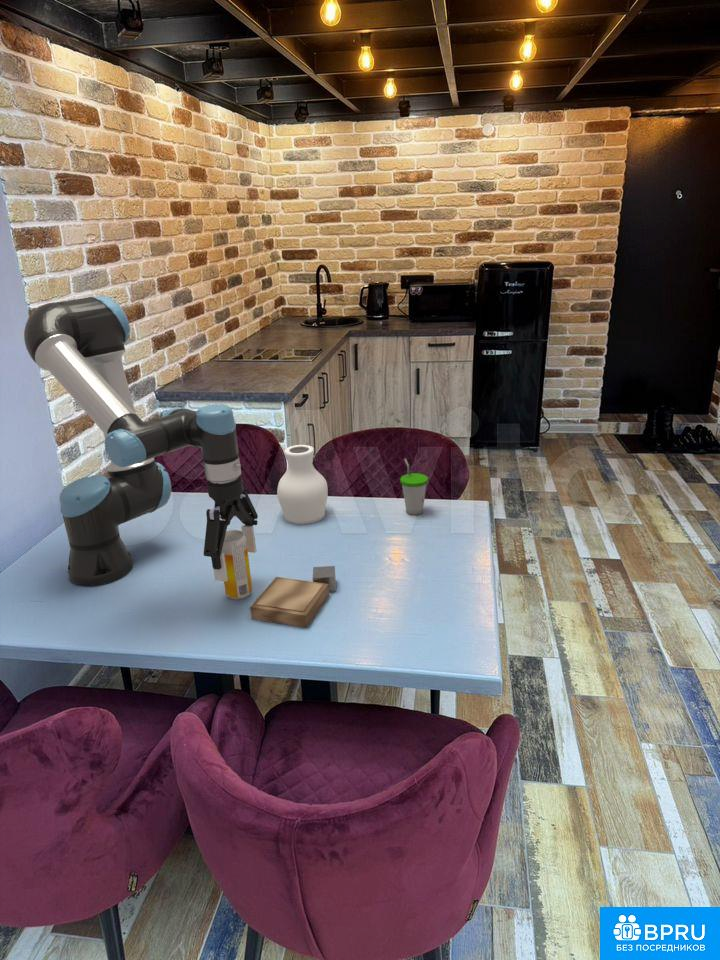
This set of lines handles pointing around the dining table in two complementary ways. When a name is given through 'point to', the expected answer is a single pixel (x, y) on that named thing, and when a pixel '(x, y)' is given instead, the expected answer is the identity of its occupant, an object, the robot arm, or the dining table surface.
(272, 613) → the plinth
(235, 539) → the beer can
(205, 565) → the dining table surface
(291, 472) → the vase
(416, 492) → the cup
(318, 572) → the steel block
